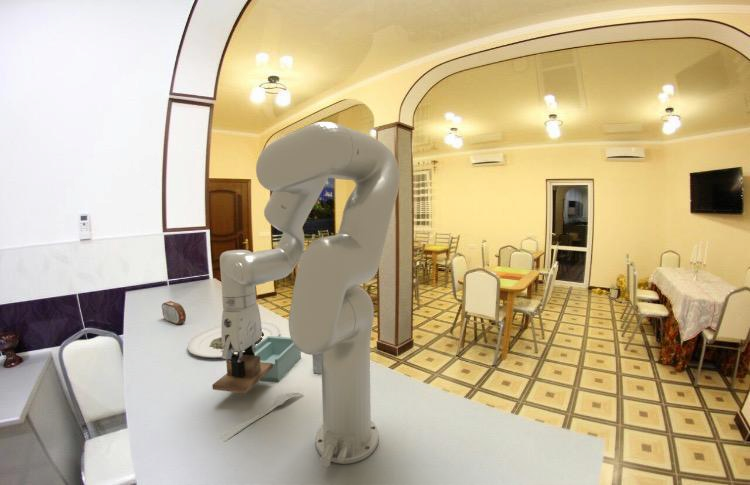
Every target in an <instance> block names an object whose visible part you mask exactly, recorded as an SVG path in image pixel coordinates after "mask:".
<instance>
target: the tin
mask: <svg viewBox="0 0 750 485" xmlns="http://www.w3.org/2000/svg"><path fill="white" fill-rule="evenodd" d="M161 311H162V312H161V313H162V316H163V318H164V320H165V321H167V322H168V323H172V324H174V325H181V324H184V323H185V322H186V321H187V320H186V319H187V314H186V310H185V308H184V307H183V305H181V304H180V303H177V302H174V301H173V300H169V301H166V302H163V303H162V304H161Z"/></svg>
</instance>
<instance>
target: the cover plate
mask: <svg viewBox="0 0 750 485" xmlns="http://www.w3.org/2000/svg"><path fill="white" fill-rule="evenodd" d="M235 355H238V354H235ZM225 360H226V373H225V374H224V375H223V376H222V377H220V378H219V379H218V380H216V381H215V382H214V383H212V385H211V386H212V390H215V391H222V392H231V393H240V394H246V393H248V391H250V390H251V389H252V388H253V387H254V386H255V385H256V384H257V383H258V382H259V381H261V380H260V379H261V378H262V377H263V376H264V375H265V374H266V373H267V372H268V371H269V370H271V369H272V368H273V365H272V363H265V362H260V356H254V355H243V354H242V361H244V367H245V376H244V377H233V376H232V367H231V362H229V360H228V359H225Z"/></svg>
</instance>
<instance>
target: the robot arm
mask: <svg viewBox="0 0 750 485" xmlns="http://www.w3.org/2000/svg"><path fill="white" fill-rule="evenodd" d="M255 172H256V173H255V174H256V177H257V181H258V182H259V184H260V185H261V186H262V188H264V189H266V190H268V191H271V195H270V196H269V199H268V200H267V203H266V205H265V207H264V211H263V214H264V217H265V220H266V221H267V222H268V223H269V224H270V225H271V226H272V227H273V228H275V229H277V231H279V232H282V235H281V238H280V239H279V242H278V244H277V245H276V247H275V248H272V249H265V250H257V251H253V252H252V251H250V250H248V249H233V250H226V251H224V252H222V253H221V254H220V256H219V270H220V280H221V281H220V283H221V297H222V298H221V300H222V309H223V310H222V314H221V326H222V327H221V336H222V347H223V354H222V357H221V359H225V360H227V359H228V360H229V362H231V367H232V376H233V377H244V376H245V367H244V361H242V354H243V355H254V356H255V354H254V353H253V352H255V350H256V347H255V345H256V343H257V341H258V340H259V339H260V338H261V336H262V327H261V322H262V319H261V312H260V308H259V304H258V302H257V295H256V294H257V293H256V286H259V285H263V284H266V283H271V282H273V281H278V280H281V279H284V278H286V277H287V276H289V275H290V274H291V273H292V272H293V271H294V269H295V268H296V266H297V269H296V275H295V281H294V286H293V291H292V295H291V296H292V297H291V302H290V308H289V313H288V331H289V336H290V338H291V339H292V341H293V343H294V345H295V346H296V347H297V348H298V349H299V350H300V351H301V353H304V354H306V355H309V356H312V355H318V354H322V357H321V367H322V369H321V370H322V373H321V395H322V396H321V398H322V402H321V403H322V425H320V427H319V428H318V431H316V436H315V447H316V449H317V453H318V454H319V455H320V456H321V457H320V458H319V463H320V465H321V466H322V467H325V468H326V467H329V466H330V465H331V462H333V463H335V464H341V465H342V464H343V465H344V464H345V465H347V464H353V463H354V464H355V463H358V462H360V461H362V460H364V459H366V458H368V457H369V456H370V455H372V453H373V452H374V451H375V450H376V448H377V446H378V445H379V437H380V436H379V430H378V427H377V425H376V424H375V423H374V421H373V420H372V419H371V418H372V417H371V407H372V406H371V340H372V331H373V325H374V320H375V318H374V317H375V309H374V302H373V300H372V297H371V296H370V294H369V293H368V291H366V290H365V288H363V287H361V285H364V284H365V283H368V282H369V281H371V280H372V279H374V277H375V276H376V275H377V273H378V271H379V268H380V264H381V260H382V256H383V251H384V248H385V243H386V239H387V236H388V232H389V227H390V222H391V218H392V213H393V210H394V209H395V208H394V207H395V203H396V200H397V197H398V192H399V189H400V181H401V178H400V177H401V174H400V168H399V164H398V161H397V158H396V157H395V155H394V153H393V152H392V150H390V148H389V147H387V146H386V145H385V143H383V142H382V141H380V140H379V139H377V138H375V137H374V136H371V135H369V134H367V133H364V132H362V131H358V130H356V129H353V128H349V127H347V126H344V125H342V124H339V123H335V122H332V121H318V122H314V123H311V124H309V125H307V126H304V127H302V128H300V129H297V130H296V131H294V132H291V133H289V134H287V135H284V136H282V137H280V138H278V139H276V140H274V141H272V142H270V144H268V145H267V146H266V147H265V148H264V149H263V150H262V151H261V153H260V155H259V156H258V157H257V161H256V166H255ZM329 179H335V180H345V181H353V182H354V183H355V187H354V188H353V190H352V192H351V193H350V195H349V196H348V198H347V200H346V202H345V205H344V207H343V211H342V218H341V221H340V225H339V229H338V231H337V233H336V234H335V235H329V236H324V237H320V238H317V239H315V240H314V241H311V243H310V244H308V245H307V247H305V233H304V229H303V227H304V225H305V223H306V221H307V219H308V218H309V215H310V213H311V211H312V210H313V208H314V206H315V204H316V203H317V201H318V199H319V197H320V195H321V194H322V192H323V190H324V189H325V186H326V184H327V182H328V180H329ZM243 351H245V352H243ZM234 352H238V355H235V354H234Z"/></svg>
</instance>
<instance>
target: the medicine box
mask: <svg viewBox="0 0 750 485" xmlns="http://www.w3.org/2000/svg"><path fill="white" fill-rule="evenodd" d="M311 357H312V372H313V374H322V370H321V369H322V367H321V357H322V354H318V355H311Z"/></svg>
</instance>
